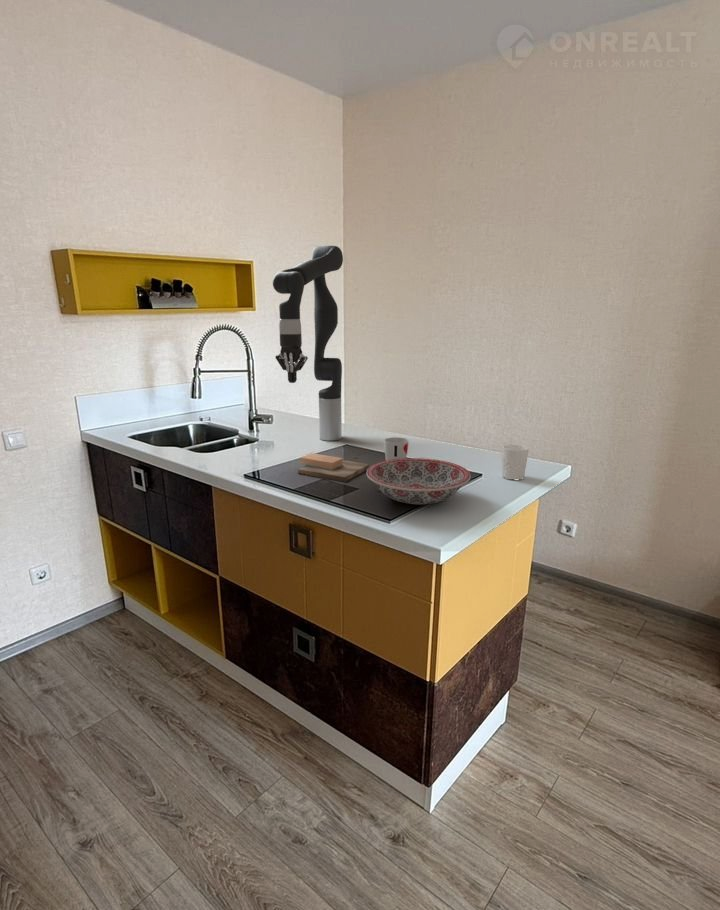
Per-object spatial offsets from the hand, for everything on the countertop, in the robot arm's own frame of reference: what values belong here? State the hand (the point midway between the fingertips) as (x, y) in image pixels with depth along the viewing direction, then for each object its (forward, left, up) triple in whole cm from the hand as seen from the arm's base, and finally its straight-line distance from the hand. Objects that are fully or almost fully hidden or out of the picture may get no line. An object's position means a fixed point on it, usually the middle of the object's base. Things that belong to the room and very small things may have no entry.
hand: (292, 382), depth 186 cm
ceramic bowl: (+46, +40, -27) cm, 67 cm away
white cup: (+27, +73, -27) cm, 82 cm away
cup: (+17, +36, -27) cm, 48 cm away
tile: (+14, +5, -24) cm, 28 cm away
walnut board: (+19, +15, -27) cm, 36 cm away
